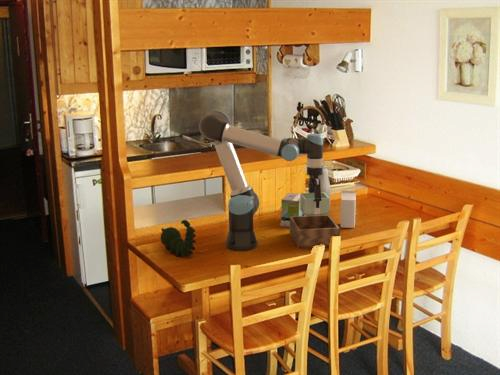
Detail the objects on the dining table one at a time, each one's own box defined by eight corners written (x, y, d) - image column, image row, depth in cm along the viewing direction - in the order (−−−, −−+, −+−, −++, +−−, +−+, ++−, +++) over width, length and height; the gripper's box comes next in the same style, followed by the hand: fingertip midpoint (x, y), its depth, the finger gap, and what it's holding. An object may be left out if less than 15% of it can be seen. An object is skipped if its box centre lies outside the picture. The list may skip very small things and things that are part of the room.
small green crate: (304, 215, 314) (304, 199, 312) (300, 209, 324) (300, 193, 322) (329, 214, 315) (329, 198, 313) (324, 207, 326) (324, 192, 324)
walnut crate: (298, 248, 312) (298, 230, 309) (289, 233, 333) (289, 216, 331) (339, 246, 314) (339, 228, 312) (328, 231, 335) (329, 214, 333)
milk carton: (354, 228, 340) (355, 192, 335) (340, 227, 341) (341, 192, 337) (354, 224, 347) (355, 189, 342) (341, 223, 348) (342, 188, 343)
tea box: (299, 228, 341) (299, 200, 338) (280, 226, 344) (280, 199, 341) (306, 220, 355) (306, 193, 351) (288, 218, 358) (288, 192, 354)
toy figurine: (200, 260, 303) (169, 242, 321) (201, 221, 297) (170, 205, 315) (183, 265, 297) (153, 246, 315) (183, 226, 291) (153, 209, 309)
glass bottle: (316, 212, 369) (317, 163, 362) (333, 214, 363) (334, 165, 356) (307, 216, 361) (308, 166, 354) (324, 219, 355) (324, 168, 348)
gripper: (328, 171, 303) (327, 217, 309) (317, 160, 326) (316, 203, 331) (312, 172, 302) (311, 218, 308) (302, 161, 325) (302, 204, 330)
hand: (314, 210), depth 320 cm, fingers closed on small green crate, 11 cm apart
